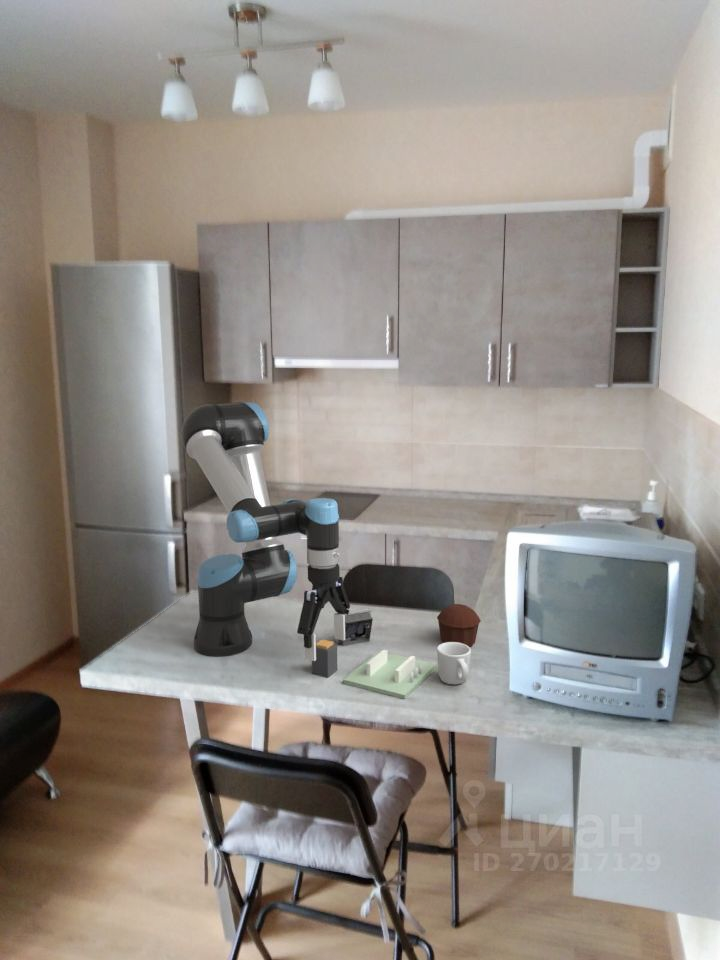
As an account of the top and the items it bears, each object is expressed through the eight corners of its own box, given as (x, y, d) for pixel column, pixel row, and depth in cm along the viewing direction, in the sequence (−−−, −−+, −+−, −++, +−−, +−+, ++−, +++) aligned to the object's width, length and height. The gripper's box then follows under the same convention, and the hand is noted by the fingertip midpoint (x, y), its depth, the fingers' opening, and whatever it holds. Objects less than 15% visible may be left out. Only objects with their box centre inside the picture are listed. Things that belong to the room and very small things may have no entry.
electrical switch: (366, 635, 204) (367, 604, 201) (374, 644, 199) (375, 613, 197) (334, 641, 200) (335, 610, 198) (341, 651, 196) (342, 618, 193)
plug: (311, 673, 182) (311, 644, 180) (321, 666, 186) (321, 637, 184) (327, 678, 180) (327, 648, 178) (337, 670, 183) (337, 641, 182)
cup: (480, 690, 173) (482, 658, 171) (448, 695, 171) (449, 662, 169) (461, 670, 183) (462, 639, 182) (431, 674, 181) (431, 643, 179)
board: (343, 683, 177) (343, 667, 176) (378, 654, 192) (378, 640, 191) (404, 699, 169) (405, 682, 168) (436, 667, 185) (436, 652, 184)
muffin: (428, 638, 202) (429, 603, 200) (462, 630, 207) (463, 596, 205) (453, 654, 192) (454, 618, 190) (488, 646, 197) (489, 610, 195)
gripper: (308, 581, 164) (310, 672, 168) (362, 552, 186) (363, 633, 190) (280, 576, 168) (283, 665, 172) (336, 549, 190) (338, 628, 193)
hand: (325, 649), depth 181 cm, fingers open, 13 cm apart
